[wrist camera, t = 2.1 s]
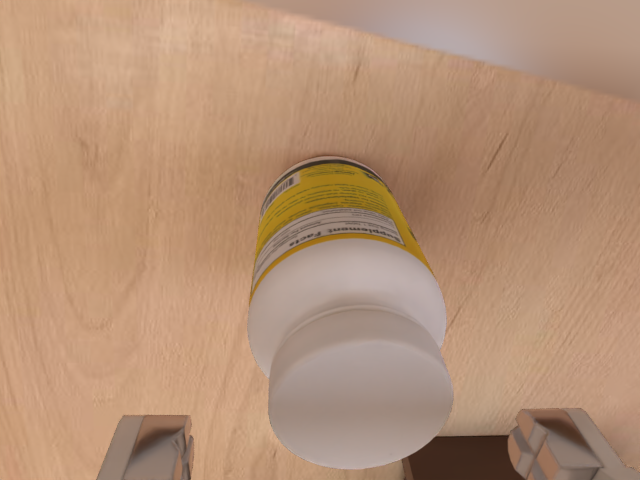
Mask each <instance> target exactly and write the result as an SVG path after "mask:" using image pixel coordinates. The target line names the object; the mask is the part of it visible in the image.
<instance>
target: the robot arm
mask: <svg viewBox="0 0 640 480" xmlns="http://www.w3.org/2000/svg"><path fill="white" fill-rule="evenodd" d="M516 421H517V423H518V426H517V427H515V428H514V429H513V430H511V432H510V435H509V438H508V453H509V457H510V460H511V462H512V465H513V467H514V469H515V471H516V472H518V473H519V474H520V475H521V476H522V477H524V478H525V480H640V473H639V472H638V471H636V470H635V469H634V468H632V467H625V465H624V464H623V462H622V461H621V460H620V458H619V457H618V455H617V454H616V453H615V451H614V450H613V449H612V447H611V446H610V444H609V443H608V442H607V440H606V439H605V437H604V436H603V435H602V433H601V432H600V431H599V429H598V428H597V426H596V425H595V424H594V422H593V421H592V419H591V418H590V417H589V415H588V414H587V413H586V412H585V411H584V410H583V409H581V408H564V409H559V408H546V409H522V410H521V411H519V412H518V414H517V417H516ZM191 427H192V423H191V417H190V415H124V416H123V417H122V418H121V420H120V421H119V423H118V425H117V428H116V430H115V433H114V436H113V438H112V441H111V443H110V446H109V448H108V451H107V453H106V456H105V459H104V461H103V464H102V466H101V469H100V471H99V474H98V477H97V479H96V480H191V475H192V469H193V461H194V439H193V437H192V436H191V435H190V431H191Z"/></svg>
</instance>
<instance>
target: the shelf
mask: <svg viewBox="0 0 640 480" xmlns="http://www.w3.org/2000/svg"><path fill="white" fill-rule="evenodd" d="M508 438H509V436H484V437H434V438H433V439H432V440H431V441H430V442H429V443H428V444H426V445H425V446H424V447H422V448H421V449H419V450H418V451H416V452H415V453H413V454H411V455H409V456H407V457H405V458H403V459H402V463H403V467H404V471H405V479H404V480H525V478H524V477H522V476H521V475H520V474H519V473H518V472H516V471H515V469H514V467H513V465H512V462H511V460H510V457H509V453H508Z"/></svg>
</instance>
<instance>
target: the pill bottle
mask: <svg viewBox="0 0 640 480" xmlns="http://www.w3.org/2000/svg"><path fill="white" fill-rule="evenodd" d="M446 324H447V316H446V306H445V302H444V299H443V296H442V293H441V290H440V287H439V285H438V283H437V280H436V278H435V276H434V274H433V272H432V270H431V268H430V266H429V264H428V262H427V260H426V258H425V257H424V255H423V253H422V251H421V248H420V246H419V245H418V243H417V241H416V239H415V237H414V235H413V233H412V231H411V229H410V227H409V226H408V224H407V222H406V220H405V218H404V216H403V214H402V212H401V210H400V208H399V206H398V204H397V202H396V200H395V198H394V196H393V194H392V193H391V191H390V189H389V188H388V187H387V185H386V184H385V182H384V181H383V180H382V178H381V177H380V176H379V175H378V174H377V173H376V172H374V171H373V170H372V169H370V168H369V167H367V166H366V165H364V164H362V163H359V162H357V161H355V160H352V159H348V158H344V157H337V156H322V157H316V158H311V159H308V160H305V161H302V162H300V163H297V164H295V165H294V166H292V167H290V168H289V169H288V170H286V171H285V172H284V173H283V174H281V175H280V176H279V177H278V179H277V180H276V181H275V182H274V183H273V185H272V186H271V187H270V189H269V191H268V192H267V194H266V197H265V199H264V202H263V205H262V209H261V214H260V220H259V228H258V236H257V245H256V254H255V262H254V270H253V278H252V286H251V293H250V301H249V311H248V323H247V331H248V340H249V344H250V348H251V351H252V354H253V356H254V358H255V361H256V362H257V364H258V366H259V367H260V369H261V370H262V372H263V373H264V374H265V375H266V377H267V378H268V379H269V399H268V414H269V419H270V424H271V426H272V429H273V431H274V433H275V435H276V436H277V438H278V439H279V440H280V442H281V443H282V444H283V445H284V446H285V447H286V448H287V449H288V450H289V451H291V452H292V453H293V454H295V455H297V456H298V457H300V458H302V459H303V460H306V461H308V462H311V463H314V464H317V465H320V466H324V467H329V468H335V469H350V470H352V469H366V468H372V467H378V466H382V465H386V464H389V463H393V462H396V461H398V460H401V459H403V458H405V457H407V456H409V455H411V454H413V453H415V452H416V451H418V450H419V449H421V448H422V447H424V446H425V445H426V444H428V443H429V442H430V441H431V440H432V439H433V438H434V437H435V436H436V435H437V434H438V433H439V432H440V430H441V429H442V428H443V426H444V424H445V423H446V421H447V419H448V417H449V415H450V412H451V409H452V405H453V386H452V381H451V378H450V375H449V373H448V370H447V368H446V365H445V362H444V360H443V357H442V355H441V352H440V349H441V347H442V344H443V341H444V337H445V331H446Z"/></svg>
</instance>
